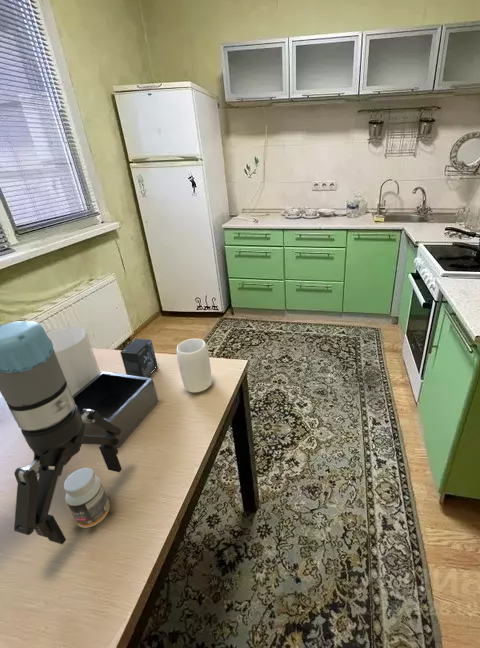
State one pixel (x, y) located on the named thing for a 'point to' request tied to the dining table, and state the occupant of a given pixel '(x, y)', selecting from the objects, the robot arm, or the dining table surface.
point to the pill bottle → (86, 497)
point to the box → (139, 358)
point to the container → (74, 356)
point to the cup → (194, 365)
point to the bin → (117, 401)
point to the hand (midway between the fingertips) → (89, 501)
